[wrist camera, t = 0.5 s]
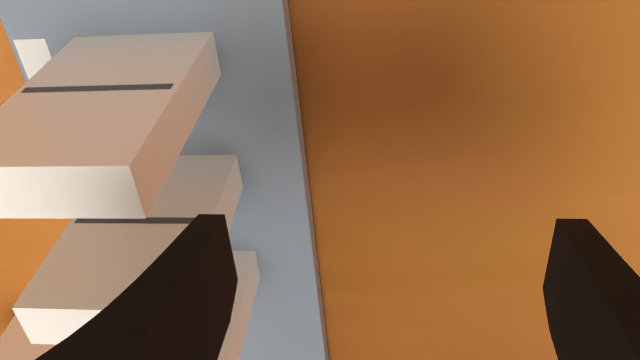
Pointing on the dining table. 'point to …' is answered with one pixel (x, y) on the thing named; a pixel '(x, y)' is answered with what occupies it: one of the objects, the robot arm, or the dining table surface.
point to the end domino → (103, 125)
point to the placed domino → (19, 344)
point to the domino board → (225, 139)
